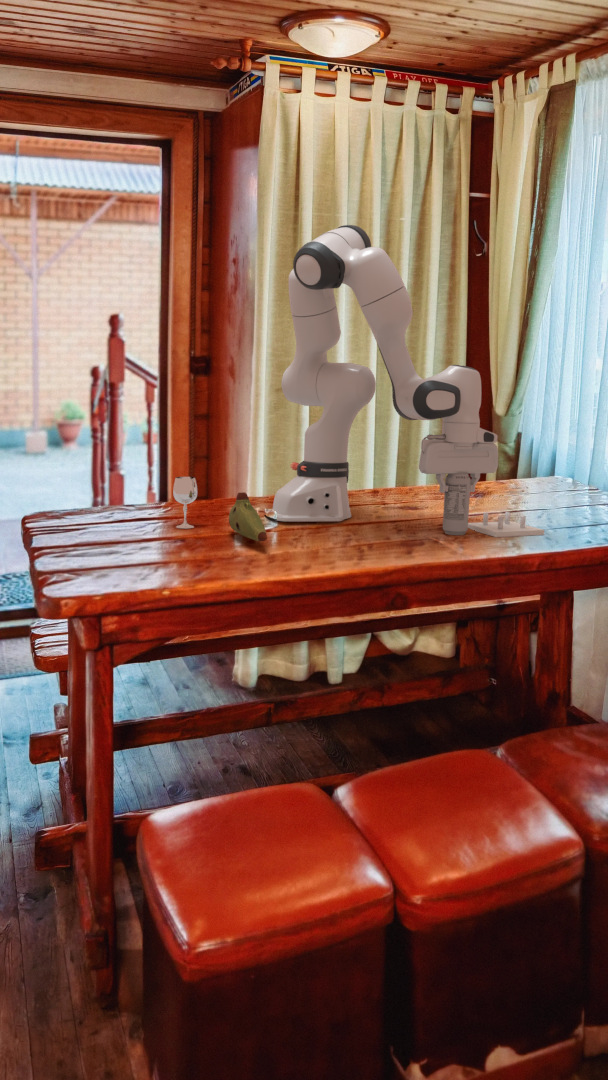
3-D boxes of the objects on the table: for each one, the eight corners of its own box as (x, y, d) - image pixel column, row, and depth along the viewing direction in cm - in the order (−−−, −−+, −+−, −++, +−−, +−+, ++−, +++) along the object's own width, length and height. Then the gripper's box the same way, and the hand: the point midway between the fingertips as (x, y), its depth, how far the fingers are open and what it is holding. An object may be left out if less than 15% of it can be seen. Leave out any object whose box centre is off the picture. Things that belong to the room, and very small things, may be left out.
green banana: (277, 544, 199) (278, 499, 197) (254, 545, 196) (255, 500, 195) (241, 530, 216) (242, 488, 215) (220, 531, 214) (221, 489, 212)
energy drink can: (471, 533, 220) (474, 471, 218) (462, 536, 215) (465, 473, 212) (447, 530, 223) (451, 470, 221) (438, 533, 218) (441, 472, 215)
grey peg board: (495, 537, 215) (496, 519, 215) (464, 527, 228) (465, 511, 227) (544, 534, 221) (545, 517, 220) (510, 525, 233) (511, 509, 233)
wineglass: (170, 525, 220) (170, 476, 218) (193, 524, 222) (194, 476, 220) (176, 529, 215) (176, 479, 212) (199, 528, 217) (199, 478, 214)
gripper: (428, 435, 208) (425, 494, 211) (503, 435, 216) (499, 492, 218) (415, 433, 214) (412, 491, 216) (488, 433, 222) (485, 489, 224)
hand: (457, 492), depth 217 cm, fingers closed on energy drink can, 6 cm apart
